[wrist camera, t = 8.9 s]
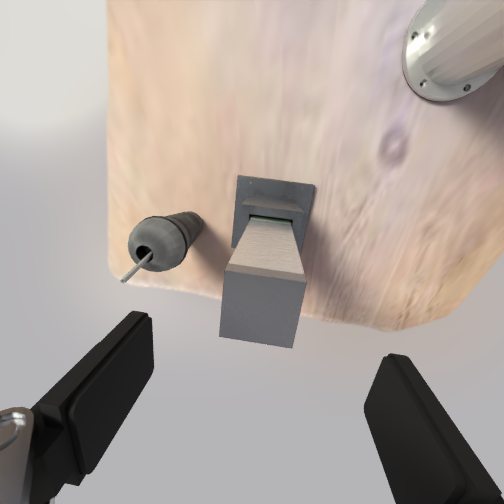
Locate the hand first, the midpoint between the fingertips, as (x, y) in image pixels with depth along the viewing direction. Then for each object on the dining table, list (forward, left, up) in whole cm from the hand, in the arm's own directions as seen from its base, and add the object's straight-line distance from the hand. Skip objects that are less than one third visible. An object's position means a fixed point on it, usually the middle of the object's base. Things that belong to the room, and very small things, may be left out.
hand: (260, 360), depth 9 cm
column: (0, 0, -24) cm, 24 cm away
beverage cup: (+14, +4, -32) cm, 35 cm away
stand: (0, 0, -32) cm, 32 cm away
